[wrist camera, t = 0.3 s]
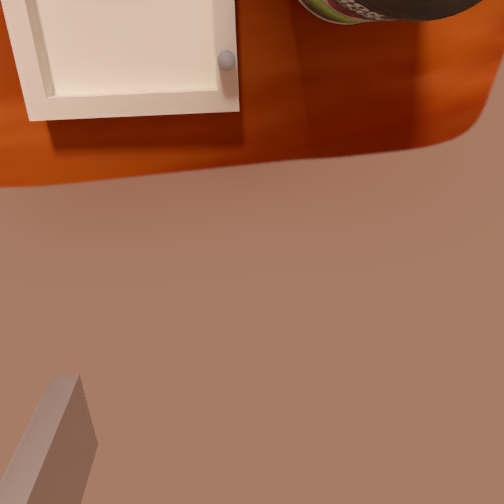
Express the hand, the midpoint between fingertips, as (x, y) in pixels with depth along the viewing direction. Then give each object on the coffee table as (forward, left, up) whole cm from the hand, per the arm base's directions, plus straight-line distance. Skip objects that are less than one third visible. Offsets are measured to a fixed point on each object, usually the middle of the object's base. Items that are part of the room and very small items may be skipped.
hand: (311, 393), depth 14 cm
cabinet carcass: (-13, -9, -27) cm, 31 cm away
